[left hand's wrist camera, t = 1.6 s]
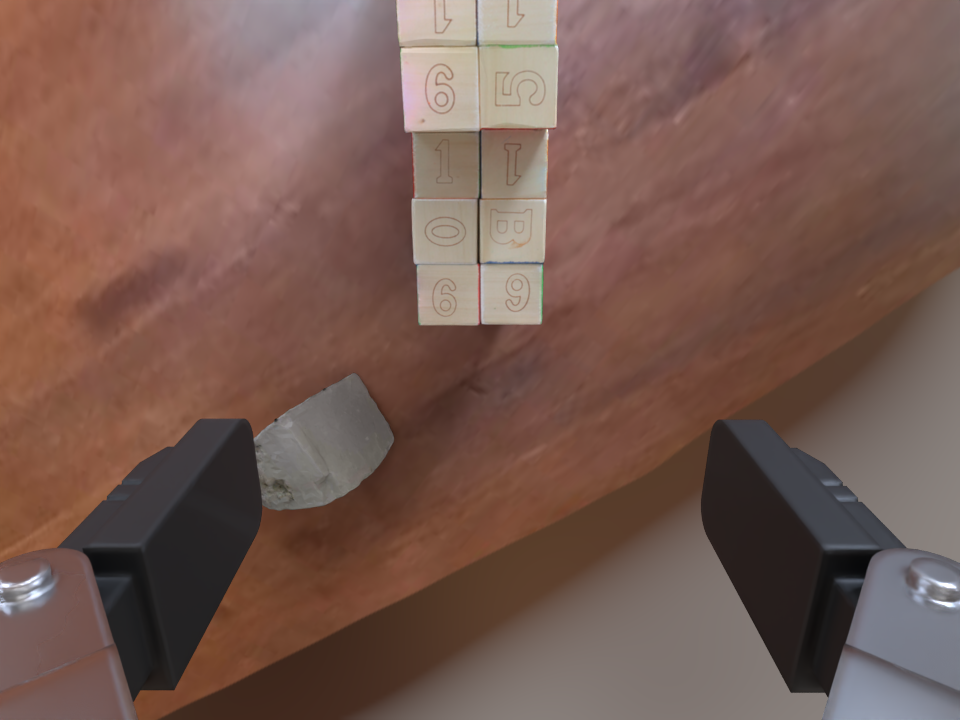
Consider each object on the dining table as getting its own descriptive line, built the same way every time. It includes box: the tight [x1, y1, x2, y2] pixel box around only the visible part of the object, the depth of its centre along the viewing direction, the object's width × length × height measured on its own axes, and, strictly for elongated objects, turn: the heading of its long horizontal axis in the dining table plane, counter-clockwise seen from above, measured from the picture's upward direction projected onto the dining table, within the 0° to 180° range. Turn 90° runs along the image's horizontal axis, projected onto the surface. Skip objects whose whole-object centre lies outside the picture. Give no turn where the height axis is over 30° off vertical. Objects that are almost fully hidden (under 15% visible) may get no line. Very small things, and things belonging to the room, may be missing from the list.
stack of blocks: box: [396, 0, 558, 325], centre depth 30 cm, size 21×6×12 cm, turn 0°
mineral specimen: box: [254, 373, 394, 511], centre depth 40 cm, size 7×9×8 cm
